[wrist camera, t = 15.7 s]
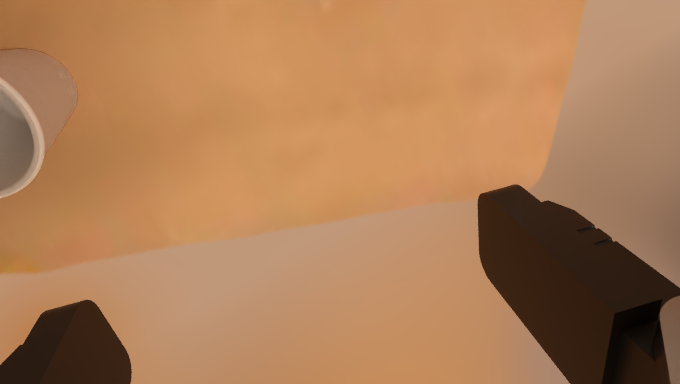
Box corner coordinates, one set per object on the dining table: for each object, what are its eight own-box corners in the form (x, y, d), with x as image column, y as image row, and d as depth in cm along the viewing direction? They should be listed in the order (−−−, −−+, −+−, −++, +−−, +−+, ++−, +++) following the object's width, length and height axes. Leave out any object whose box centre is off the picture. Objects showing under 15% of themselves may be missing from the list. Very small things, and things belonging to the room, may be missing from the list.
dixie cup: (15, 155, 33) (-68, 221, 25) (-62, 48, 29) (-194, 82, 20) (118, 122, 34) (73, 176, 25) (57, 12, 29) (-24, 31, 21)
